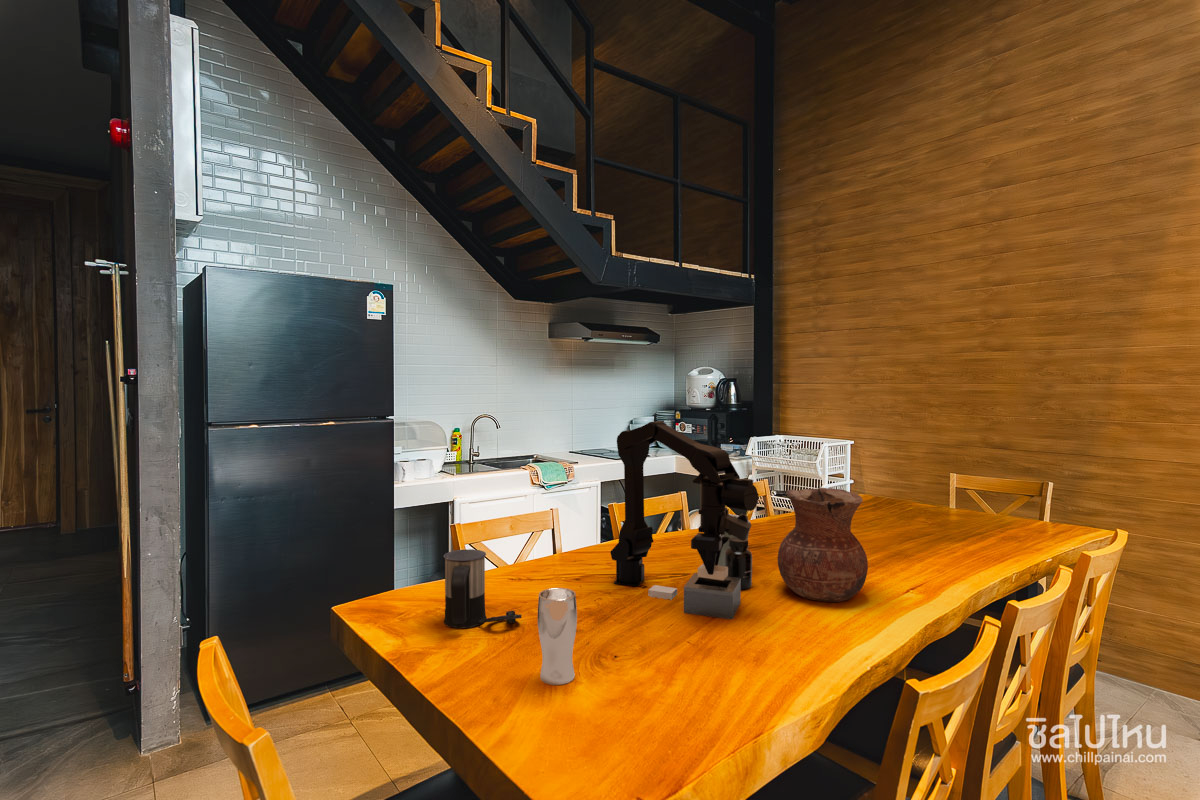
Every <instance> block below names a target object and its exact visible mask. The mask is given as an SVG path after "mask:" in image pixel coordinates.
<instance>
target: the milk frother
mask: <svg viewBox="0 0 1200 800" xmlns="http://www.w3.org/2000/svg"><path fill="white" fill-rule="evenodd" d="M486 556H487V553H486V551H483V550H480V549H474V548H473V549H457V550H451V551H449V552H446V553H445V554H444V555H443V558H444V600H445V601H444V602H445V604H444V606H445V607H444V619H443V623H444V625H445V626H447V627H450V628H455V629H468V628H474V627H478V626H481V625H482V624H484V623H493V622H499V621H501V622H502V621H506V622H507V623H506V624H507V625H508V624H509V625H510V624H515V623H516V621H517V620H516V619H522V614H517V613H516V612H515V610H510V611H509V610H508V611H506V612H505V615H499V616H492V617H487V615H486V614H487V613H486V595H485V594H486V592H485V587H486V584H485V580H486V577H485V576H486V575H485V574H486V573H485V572H486V570H485V569H486V568H485V563H486V560H485V557H486Z"/></svg>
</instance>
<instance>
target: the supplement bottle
mask: <svg viewBox="0 0 1200 800" xmlns="http://www.w3.org/2000/svg"><path fill="white" fill-rule="evenodd" d="M729 547H730V548H729V549H727V550H726V552H725V567H728V576H727V577H736V578H741V591H743V590H744V591H745V590H748V589H750V588H751V587H752V585H753V584H752V583H753V582H752V581H753V579H752V578H753V554H752V551H751V550H749V549H748V548H749V547H750V545H749V539H748V540H747V539H745V541H743V540H740V539H738V538H730V539H729Z"/></svg>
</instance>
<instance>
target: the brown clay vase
mask: <svg viewBox="0 0 1200 800" xmlns="http://www.w3.org/2000/svg"><path fill="white" fill-rule="evenodd" d="M785 494H786V496H787V497H788V499H789V500H790V503H791V505H792V508H793V512H794V516H795V523H794V524H795V526H794V527H793V529H791V530H790V531H789V532H788V534H786V536H785V537H784V538H783V539H782V541H781V543H780V545H779V549H778V550H777V551H778V552H777V557H776V558H777V567H778V570H779V573H780V574H779V575H780V576H781V578H782V580H783V582H784V583H785V585H786V586H787V587H788V588H789V589H790V590H791V591H792V592H793V593H795V594H797V595H798V596H800V597H802V598H804V599H807V600H813V601H818V602H823V603H840V602H841V603H842V602H846V601H849V600H850V599H852V598H853V597H854V596H855V595H857V594H858V593H859V592H860V591H861V590H862V589H863V586H864V584H865V583H866V579H867V576H868V575H867V574H868V570H869V567H868V566H869V565H868V564H869V562H868V556H867V554H866V551H865V549H864V547H863V545H862V544H861V543H860V541H859V539H858V538H857V537H856V536H855V534H853V533H852V530H851V529H852V528H851V527H852V521H853V517H854V515H855V513H856V511H857V510H858V509H859V507H860V506H861V505H862V503H863V498H862V496H861V495H859V494H857V493H855V492H850V491H847V490H845V489H841V488H840V489H839V488H830V487H829V488H828V487H827V488H826V487H818V488H803V489H800V490H796V489H789V490H786V492H785Z"/></svg>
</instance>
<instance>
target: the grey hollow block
mask: <svg viewBox="0 0 1200 800" xmlns="http://www.w3.org/2000/svg"><path fill="white" fill-rule="evenodd" d="M741 591H742V590H741V578H736V577H726V578H725V579H724V580H716V579H709V578H703V577H698V572H694V573H693V575H691V577H690V579H688V580H687V582H686V583H685V585H684V586H683V614H688V615H696V616H704V617H711V618H719V619H726V620H733V619H734V618H735V615H736V613H737V611H738V610H739V607H740V605H741Z"/></svg>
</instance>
